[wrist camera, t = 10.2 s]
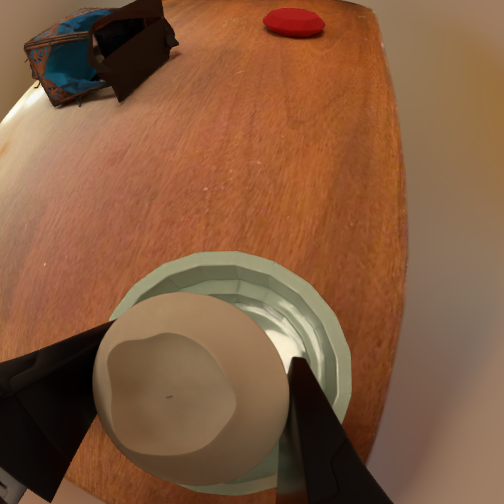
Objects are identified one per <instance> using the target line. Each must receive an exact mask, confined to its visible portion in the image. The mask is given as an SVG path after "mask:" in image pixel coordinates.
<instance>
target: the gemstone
mask: <svg viewBox="0 0 504 504" xmlns="http://www.w3.org/2000/svg"><path fill="white" fill-rule="evenodd" d="M263 23H264V24H265V25H266V26H267V27H268V28H269V29H270V30H271V31H272V32H275V33H278V34H281V35H284V36H292V37H308V36H311V35H314V34H317V33H318V32H320V31H321V30H322V29H323V28H324V27H325V23H324V21H323V20H322V19H321V18H320V17H319V16H318V15H317V14H316V13H314V12H311V11H307V10H304V9H296V8H281V9H277V10H273V11H271V12H270V13H269V14H268V15H267V16H266V17H265V18H264V19H263Z"/></svg>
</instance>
